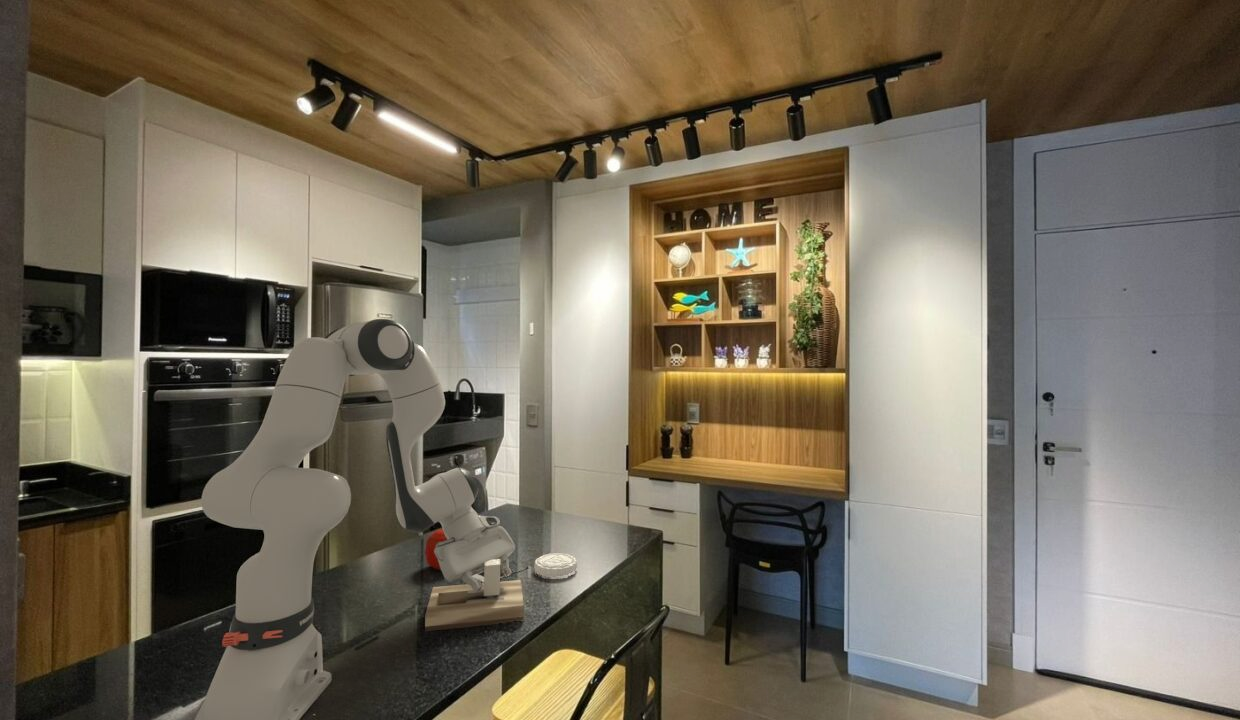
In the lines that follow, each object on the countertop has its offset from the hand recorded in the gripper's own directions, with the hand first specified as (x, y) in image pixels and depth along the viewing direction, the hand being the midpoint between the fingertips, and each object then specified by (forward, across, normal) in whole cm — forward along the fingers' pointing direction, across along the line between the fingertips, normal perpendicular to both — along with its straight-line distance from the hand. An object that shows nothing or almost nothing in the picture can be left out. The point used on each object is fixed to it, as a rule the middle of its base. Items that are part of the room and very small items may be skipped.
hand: (494, 582), depth 119 cm
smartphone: (-5, +17, +15) cm, 24 cm away
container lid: (+3, +26, +7) cm, 28 cm away
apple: (-17, +11, +27) cm, 33 cm away
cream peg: (+4, 0, +4) cm, 6 cm away
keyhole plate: (+2, -2, +7) cm, 8 cm away
